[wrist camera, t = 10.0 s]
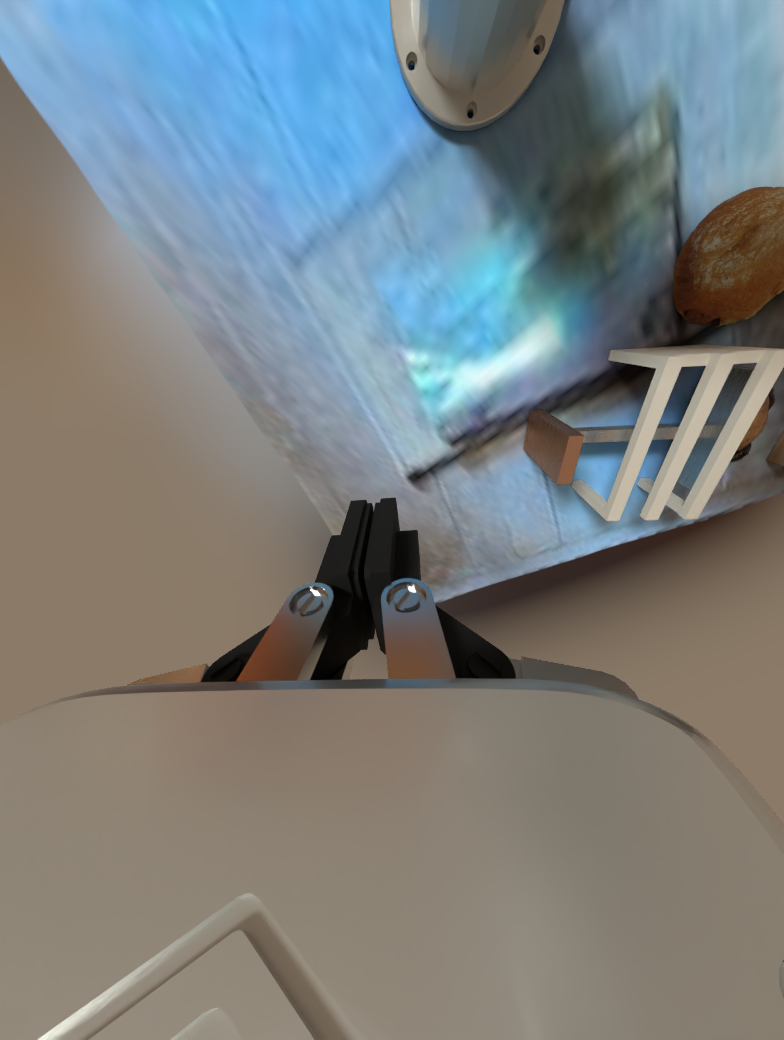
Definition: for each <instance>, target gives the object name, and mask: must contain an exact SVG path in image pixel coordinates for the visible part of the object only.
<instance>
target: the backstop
mask: <svg viewBox="0 0 784 1040" xmlns="http://www.w3.org/2000/svg"><path fill="white" fill-rule="evenodd" d="M766 460H767V461H770V462H772V463H775V464H778V465H780V466H783V467H784V432H783V434H782V435H781V437H780V438H779V440H778V442H777V443H776V445H775V446H774V448H773V450H772V451H771V453H770V454H769V456H768V457H767V459H766Z"/></svg>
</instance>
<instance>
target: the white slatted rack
mask: <svg viewBox="0 0 784 1040" xmlns="http://www.w3.org/2000/svg"><path fill="white" fill-rule="evenodd" d="M608 360H610V361H616V362H621V363H627V364H633V365H639V366H645V367H651V368H656V371H655V373H654V376H653V379H652V382H651V384H650V387H649V390H648V393H647V395H646V398H645V401H644V403H643V406H642V409H641V412H640V414H639V417H638V420H637V423H636V425H635V428H634V431H633V433H632V436H631V439H630V442H629V444H628V447H627V450H626V453H625V455H624V458H623V461H622V463H621V466H620V469H619V472H618V474H617V477H616V480H615V483H614V485H613V488H612V491H611V494H610V496H609V499H608V502H607V501H605V500H604V499H603V498H602V497H601V496H600V495H599V494H597V493H596V492H595V491H594V490H593V489H592V488H591V487H589V486H588V485H587V484H586V483H585V482H584V481H583V480H573V483H572V488H573V489H574V490H575V491H576V492H577V493H578V494H579V495H580V496H581V497H582V498H583V499H584V500H585V501H586V502H587V503H589V504H590V505H591V506H592V507H593V508H594V509H595V510H596V511H597V512H598V513H599V514H600V515H601V516H602V517H603V518H604V519H605V520H606V521H619V520H620V518H621V515H622V513H623V510H624V508H625V505H626V503H627V500H628V498H629V495H630V493H631V490H632V488H633V486H634V483H635V481H636V478H637V476H638V473H639V471H640V468H641V466H642V463H643V461H644V458H645V456H646V453H647V451H648V449H649V446H650V444H651V441H652V439H653V436H654V434H655V431H656V429H657V426H658V424H659V421H660V419H661V417H662V414H663V412H664V409H665V407H666V404H667V402H668V399H669V397H670V394H671V392H672V389H673V387H674V384H675V382H676V380H677V377H678V375H679V372H680V370H681V367H690V366H706V368H705V370H704V372H703V374H702V377H701V379H700V381H699V383H698V386H697V388H696V390H695V392H694V395H693V397H692V399H691V401H690V404H689V406H688V408H687V410H686V413H685V415H684V417H683V419H682V422H681V424H680V426H679V428H678V431H677V433H676V435H675V437H674V440H673V442H672V444H671V446H670V449H669V451H668V453H667V455H666V458H665V460H664V462H663V464H662V467H661V469H660V471H659V473H658V476H657V478H656V480H655V482H654V481H653V480H651V479H649V478H639V480H638V483H637V485H638V486H639V487H641V488H642V489H644V490H645V491H646V492H648V493H649V496H648V498H647V500H646V503H645V505H644V507H643V509H642V512H641V514H640V516H641V517H642V518H643V519H644V520H658V519H659V517H660V515H661V513H662V511H663V509H664V507H665V505H667V506H668V507H670V508H671V509H673V510H674V511H675V512H677V513H678V515H679V516H681V517H682V518H684V519H698V517H699V515H700V514H701V512H702V510H703V508H704V507H705V505H706V503H707V501H708V500H709V498H710V496H711V494H712V493H713V491H714V489H715V487H716V485H717V484H718V482H719V480H720V478H721V477H722V475H723V473H724V471H725V470H726V468H727V466H728V464H729V463H730V461H731V459H732V457H733V456H734V454H735V452H736V450H737V448H738V447H739V445H740V443H741V441H742V440H743V438H744V436H745V434H746V433H747V431H748V429H749V427H750V426H751V424H752V422H753V420H754V419H755V417H756V415H757V413H758V411H759V410H760V408H761V406H762V404H763V403H764V401H765V399H766V397H767V396H768V394H769V392H770V390H771V389H772V387H773V385H774V383H775V381H776V380H777V378H778V376H779V374H780V373H781V371H782V369H783V367H784V349H775V348H758V347H742V346H726V345H709V344H702V345H686V346H670V347H653V348H637V349H621V350H610V354H609V357H608ZM743 363H757V365H756V366H755V368H754V370H753V372H752V374H751V376H750V378H749V380H748V382H747V384H746V386H745V387H744V389H743V391H742V393H741V395H740V397H739V399H738V401H737V403H736V405H735V407H734V409H733V410H732V412H731V414H730V416H729V418H728V420H727V422H726V424H725V426H724V428H723V430H722V432H721V433H720V435H719V437H718V439H717V441H716V443H715V445H714V447H713V449H712V451H711V453H710V455H709V456H708V458H707V460H706V462H705V464H704V466H703V468H702V470H701V472H700V474H699V476H698V477H697V479H696V481H695V483H694V485H693V487H692V489H691V491H690V493H689V495H688V497H687V499H686V500H685V501H684V500H683V499H681V498H680V497H678V496H677V495H675V494H673V493H672V490H673V488H674V486H675V484H676V482H677V480H678V478H679V476H680V474H681V472H682V470H683V467H684V465H685V463H686V461H687V459H688V457H689V455H690V453H691V451H692V449H693V447H694V445H695V443H696V441H697V439H698V437H699V435H700V433H701V430H702V428H703V426H704V424H705V422H706V420H707V418H708V416H709V414H710V412H711V410H712V408H713V406H714V404H715V402H716V400H717V398H718V395H719V393H720V391H721V389H722V387H723V385H724V383H725V381H726V379H727V377H728V375H729V373H730V371H731V369H732V367H733V365H734V364H743Z"/></svg>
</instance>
